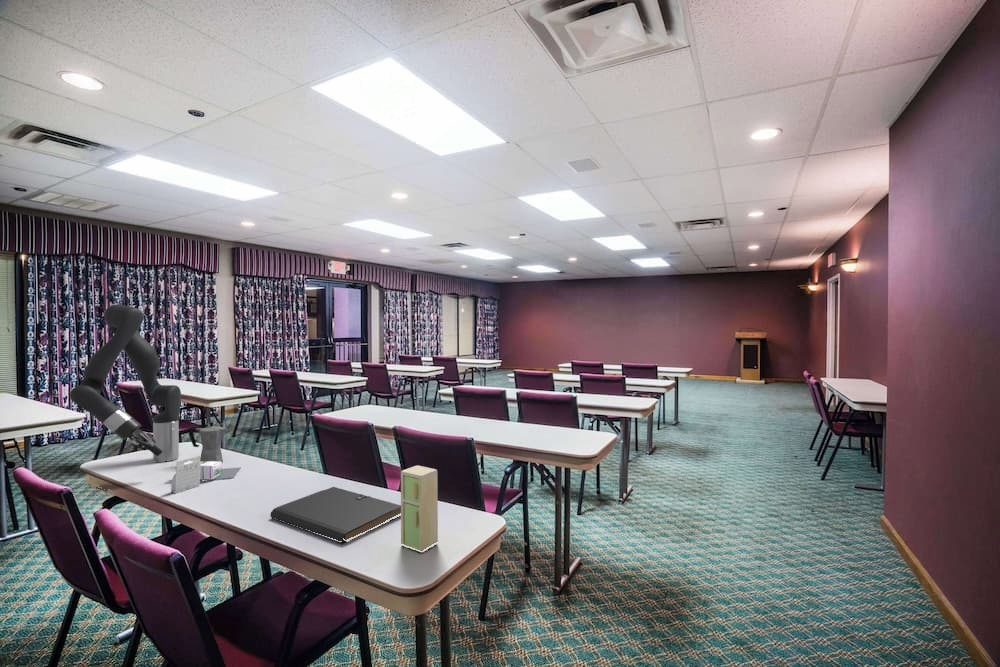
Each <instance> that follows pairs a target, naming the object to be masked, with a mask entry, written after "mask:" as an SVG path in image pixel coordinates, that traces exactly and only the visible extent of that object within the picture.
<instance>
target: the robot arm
mask: <svg viewBox="0 0 1000 667" xmlns="http://www.w3.org/2000/svg"><path fill="white" fill-rule="evenodd" d="M104 320H105V322H106V324H107V326H108V328H110V330H111V332H113V336H112V337H111V338H110V339H109V340H108V341H107V342H106V343H105V344H104V345H103V346H101V347H100V348H98V350H96V351H95V352H94V353H93V355H92V356H91V358H90V360H89V361H88V363H87V365H86V367H85V369H84V370H83V373H82V374H83V378H82V381H81V382H80V385H76V386H75V387H73V388H72V389H71V390H70V391H69V398H70V400H71V401H72V403H74V404H76V405H77V406H78V407H80V408H82V409H83V410H84V411H86V412H88V413H90V414H91V415H92V416H93V417H94V418H96V419H97V421H99V422H101V423H102V424H103V425H104V426H105V427H106V428H107V429H108V430H110V431H111V432H112V433H113V434H115V435H116V436H118V437H119V438H120V439H122V440H124V441H125V440H126V439H129V441H131V443H130V444H131V446H133V447H135V448H137V449H140V450H141V451H142V450H143V451H145V452H146V451H149V452H151V453H152V462H153V461H155V462H154V463H166V462H165V461H167V462H172V461H171V460H173V461H175V459H176V460H178V459H179V455H180V452H179V451H180V450H179V448H180V444H179V442H180V437H179V435H180V434H179V433H180V432H179V421H180V420H179V418H180V417H179V416H180V415H181V414H180V413H181V403H182V402H181V401H182V391H181V388H180V387H179V386H178V385H174V384H173V385H172V384H171V385H168V384H162V385H161V383H159V381H158V379H157V374H158V373H159V372H158V371H159V369H160V366H161V360H160V358H159V356H158V353H157V352H156V350H155V348H154V347H153V346H152V344H151V343H149V341H147V340H146V339H145V338H144V337H143V335H142V336H141V334H140V333H139V332H138V330H139V328H140V327H141V326H142V324H143V321H144V314H143V312H142V310H141V309H139V308H137V307H133V306H130V305H129V306H128V305H124V304H112V305H109V306H108V307H107V308H106V309H105V311H104ZM123 350H124V352H125V354H126V356H127V358H128V360H129V362H130V364H131V365H132V367H133V369H134V371H135V372H136V374H137V375H138V378H139V380H140V382H141V384H142V387H143V389H144V392H145V395H146V397H147V400H148V401H149V402H150V405H152V406H154V407H155V406H156V407H165V408H164V411H163V412H161V413H158V414H155V415H154V416H153V417H152V418H153V420H152V421H153V422H152V424H153V426H152V428H153V429H152V432H153V433H152V434H151V433H150V432H145V431H143V430H141V429H140V428H141V427H142V424H141V423H140V422H139V421H138V420H137V419H135V418H134V417H133V416H131V415H130V414H129V413H128V412H126V411H124V410H122V408H120V407H119V406H117V405H116V404H115V403H113V402H112V401H110V400H108V399H106V398H105V397H104V396H102V395H101V393H102V390H103V388H104V385H105V381H106V379H107V377H108V376H109V374H110V372H111V370H112V368H113V366H114V365H115V363H116V361H117V359H118V357H119V356H120V354H121V353H122V351H123ZM177 458H178V459H177Z"/></svg>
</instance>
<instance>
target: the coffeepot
mask: <svg viewBox="0 0 1000 667" xmlns="http://www.w3.org/2000/svg"><path fill="white" fill-rule="evenodd" d="M227 431H229V429H228V428H226V427H222V426H215V425H214V422H213V421H210V422H209V426H206V427H204V428H203V427H193V428H191V430H189V432H188V436H189V438H190V441H191V443H192V446H193V448H199V447H200V444H197V441H196V439H195V434H194V433H197V434H198V433H199V436H200V440H201V446H202V449H201V452H200V461H218V462H222V463H223V462H224V459H223V454H222V449H221V448H222V447H221V444H222V440H223V437H224V435H225V434H226V433H227Z"/></svg>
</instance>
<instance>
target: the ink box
mask: <svg viewBox="0 0 1000 667" xmlns="http://www.w3.org/2000/svg"><path fill="white" fill-rule="evenodd" d="M200 457H201V455H198V456H195V457H191V458H187V459H183V460H178V461H176V466H175V473H174V475H173V476H172V479H171V481H170V482H171V484H170V486H171V487H170V493H172V492H173V493H172V494H177V493H182V492H184V491H186V490H190V489H193V488H195V487H196V488H197V487H199V486H200V484H201V483H200V482H201V481H200ZM187 461H193V462H192V463H189V464H184V463H185V462H187ZM198 485H199V486H198Z"/></svg>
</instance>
